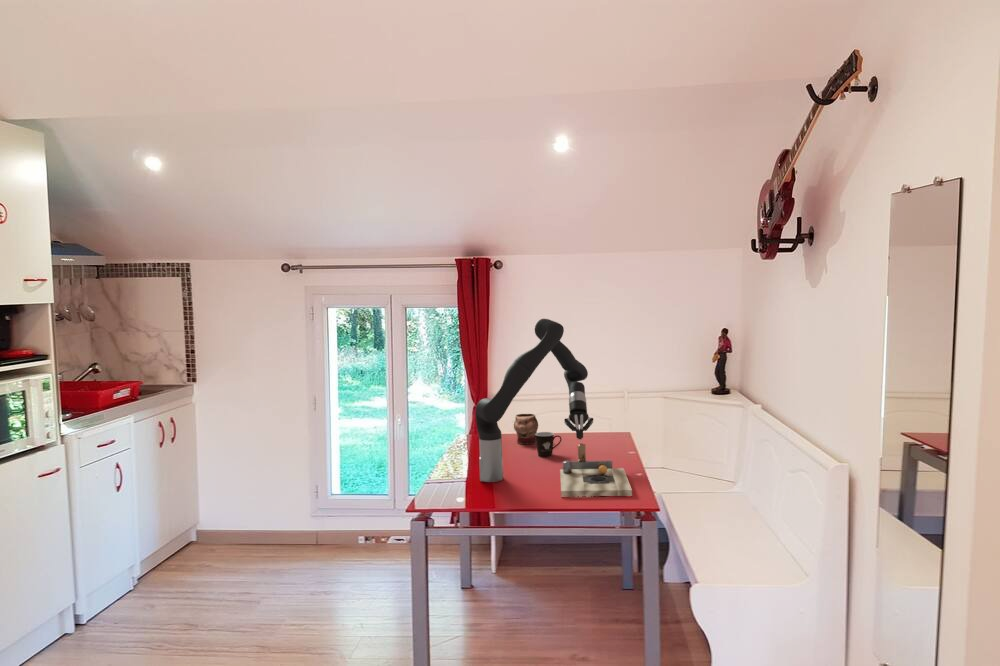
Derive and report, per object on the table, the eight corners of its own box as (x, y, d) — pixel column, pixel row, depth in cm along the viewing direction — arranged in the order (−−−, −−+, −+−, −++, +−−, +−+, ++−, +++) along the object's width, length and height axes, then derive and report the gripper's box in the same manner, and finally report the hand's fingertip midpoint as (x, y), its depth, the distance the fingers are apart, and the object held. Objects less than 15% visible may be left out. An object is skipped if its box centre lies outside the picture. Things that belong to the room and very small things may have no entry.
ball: (598, 475, 264) (598, 466, 263) (598, 472, 267) (597, 464, 267) (607, 475, 263) (607, 466, 263) (607, 472, 267) (606, 464, 266)
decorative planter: (516, 437, 344) (515, 410, 343) (539, 436, 342) (538, 410, 341) (512, 446, 324) (511, 418, 323) (537, 446, 323) (536, 418, 322)
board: (561, 497, 246) (561, 491, 246) (560, 475, 274) (560, 469, 274) (632, 496, 244) (631, 489, 244) (623, 474, 272) (623, 468, 272)
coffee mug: (534, 457, 303) (533, 436, 302) (537, 452, 311) (536, 431, 310) (559, 458, 300) (558, 436, 299) (562, 453, 308) (561, 432, 308)
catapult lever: (563, 473, 267) (562, 446, 266) (563, 471, 271) (562, 443, 270) (612, 472, 266) (612, 445, 265) (612, 470, 269) (611, 442, 268)
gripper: (562, 399, 287) (564, 434, 276) (593, 398, 287) (596, 433, 275) (562, 409, 293) (564, 443, 282) (592, 408, 292) (595, 442, 281)
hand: (580, 438), depth 279 cm, fingers closed
